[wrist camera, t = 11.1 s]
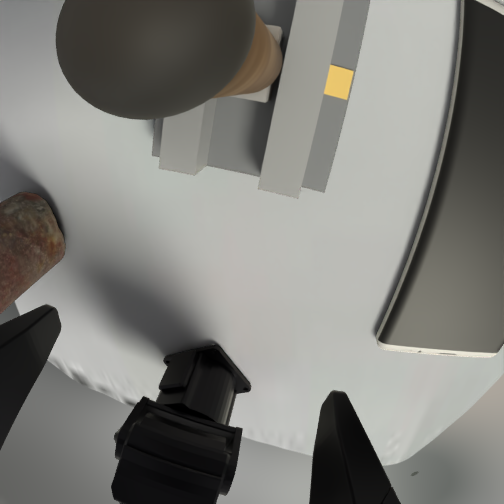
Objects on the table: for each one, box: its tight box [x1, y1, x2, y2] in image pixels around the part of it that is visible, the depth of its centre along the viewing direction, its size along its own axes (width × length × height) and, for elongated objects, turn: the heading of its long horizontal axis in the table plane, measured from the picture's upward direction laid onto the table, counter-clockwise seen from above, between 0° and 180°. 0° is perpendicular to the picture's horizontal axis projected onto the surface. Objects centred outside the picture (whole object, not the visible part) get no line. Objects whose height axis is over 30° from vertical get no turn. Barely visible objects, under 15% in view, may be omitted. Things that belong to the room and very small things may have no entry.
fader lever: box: [56, 0, 284, 120], centre depth 8 cm, size 4×4×13 cm
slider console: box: [152, 0, 370, 199], centre depth 13 cm, size 17×10×4 cm, turn 170°
